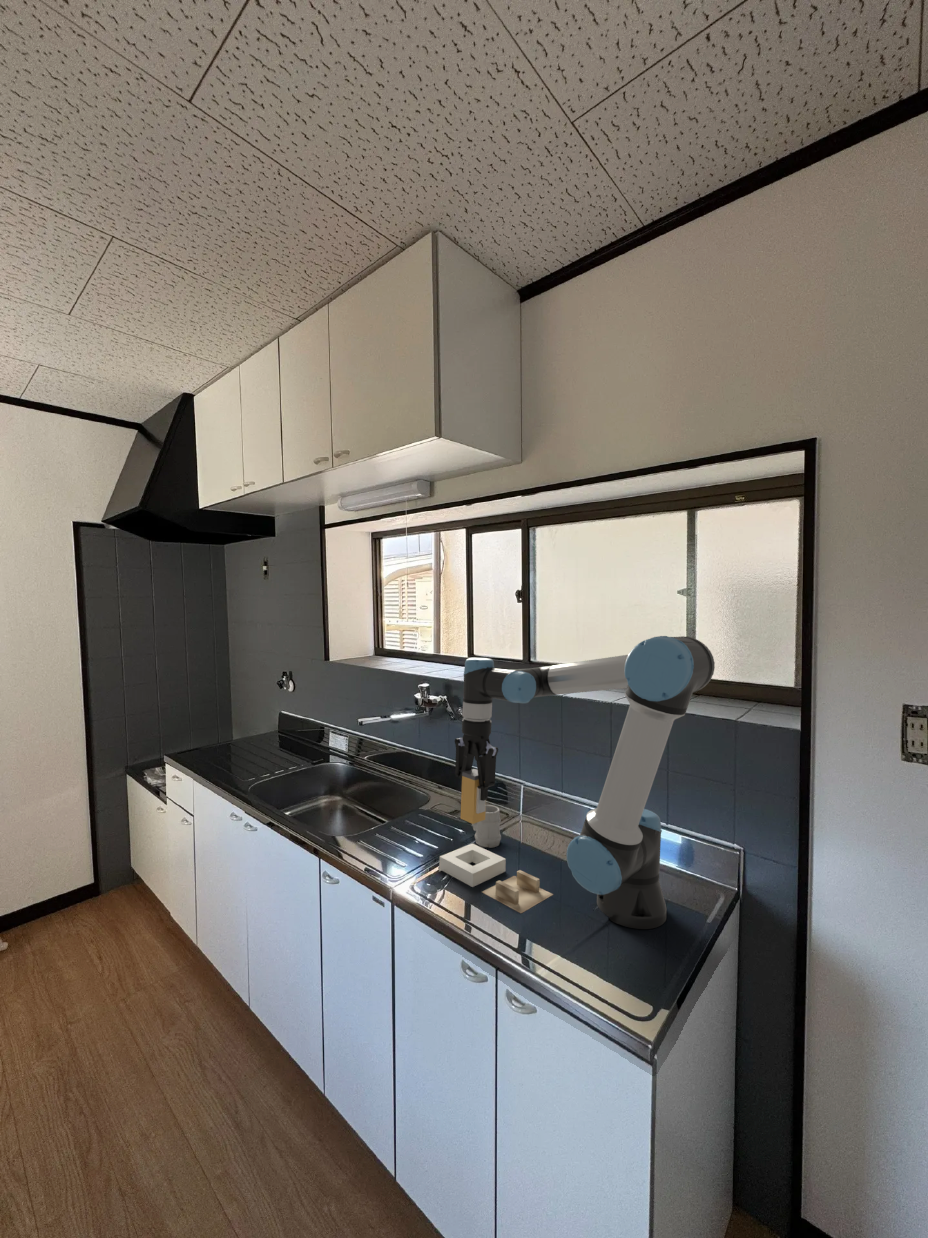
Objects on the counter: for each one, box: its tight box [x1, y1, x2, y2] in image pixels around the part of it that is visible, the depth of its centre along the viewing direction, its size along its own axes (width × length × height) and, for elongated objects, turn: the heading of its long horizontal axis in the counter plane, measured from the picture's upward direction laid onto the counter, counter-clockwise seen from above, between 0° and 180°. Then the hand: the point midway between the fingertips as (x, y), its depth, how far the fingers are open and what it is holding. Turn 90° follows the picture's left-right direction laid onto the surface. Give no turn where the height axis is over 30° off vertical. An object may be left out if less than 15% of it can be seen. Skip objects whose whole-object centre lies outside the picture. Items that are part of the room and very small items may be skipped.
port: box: [438, 843, 507, 888], centre depth 135 cm, size 12×12×4 cm
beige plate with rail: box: [481, 869, 554, 914], centre depth 125 cm, size 12×12×4 cm
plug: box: [459, 768, 486, 825], centre depth 136 cm, size 4×4×12 cm
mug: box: [471, 804, 502, 849], centre depth 156 cm, size 8×12×12 cm, turn 34°
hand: (473, 808), depth 136 cm, fingers closed on plug, 4 cm apart
